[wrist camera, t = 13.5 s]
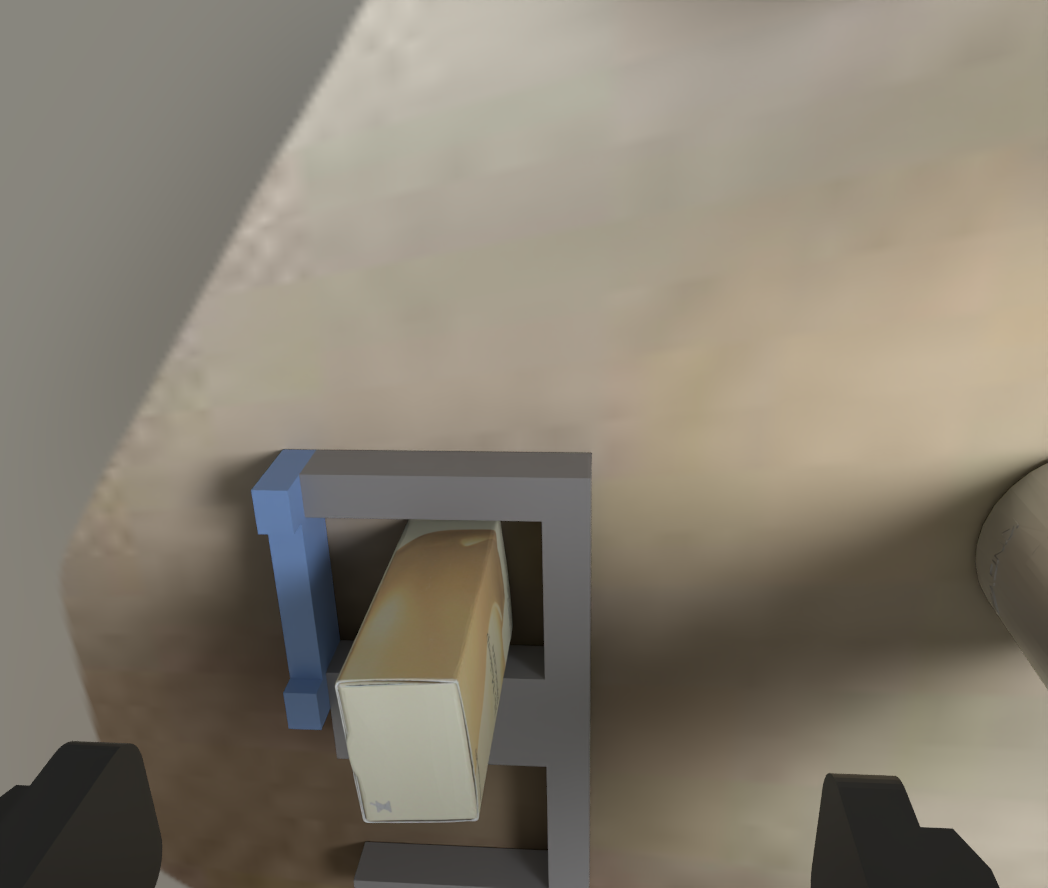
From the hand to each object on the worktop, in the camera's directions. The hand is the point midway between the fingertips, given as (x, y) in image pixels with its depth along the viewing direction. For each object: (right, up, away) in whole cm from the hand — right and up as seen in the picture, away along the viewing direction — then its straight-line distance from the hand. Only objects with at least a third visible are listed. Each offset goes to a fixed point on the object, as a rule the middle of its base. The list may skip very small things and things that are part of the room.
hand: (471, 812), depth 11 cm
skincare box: (-2, -1, +32) cm, 32 cm away
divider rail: (-3, -7, +34) cm, 35 cm away
